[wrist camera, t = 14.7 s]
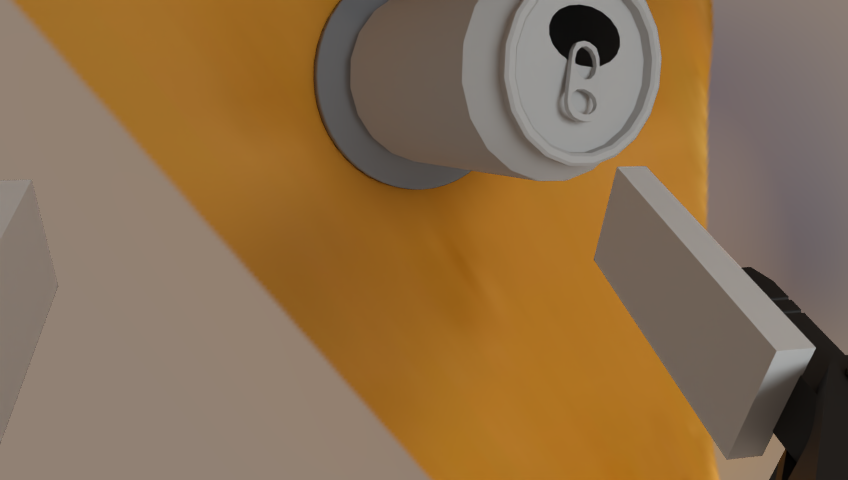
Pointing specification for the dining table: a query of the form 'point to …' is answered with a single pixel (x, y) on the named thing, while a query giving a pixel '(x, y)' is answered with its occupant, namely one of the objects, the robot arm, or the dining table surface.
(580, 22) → the can
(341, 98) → the coaster
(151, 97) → the dining table surface
